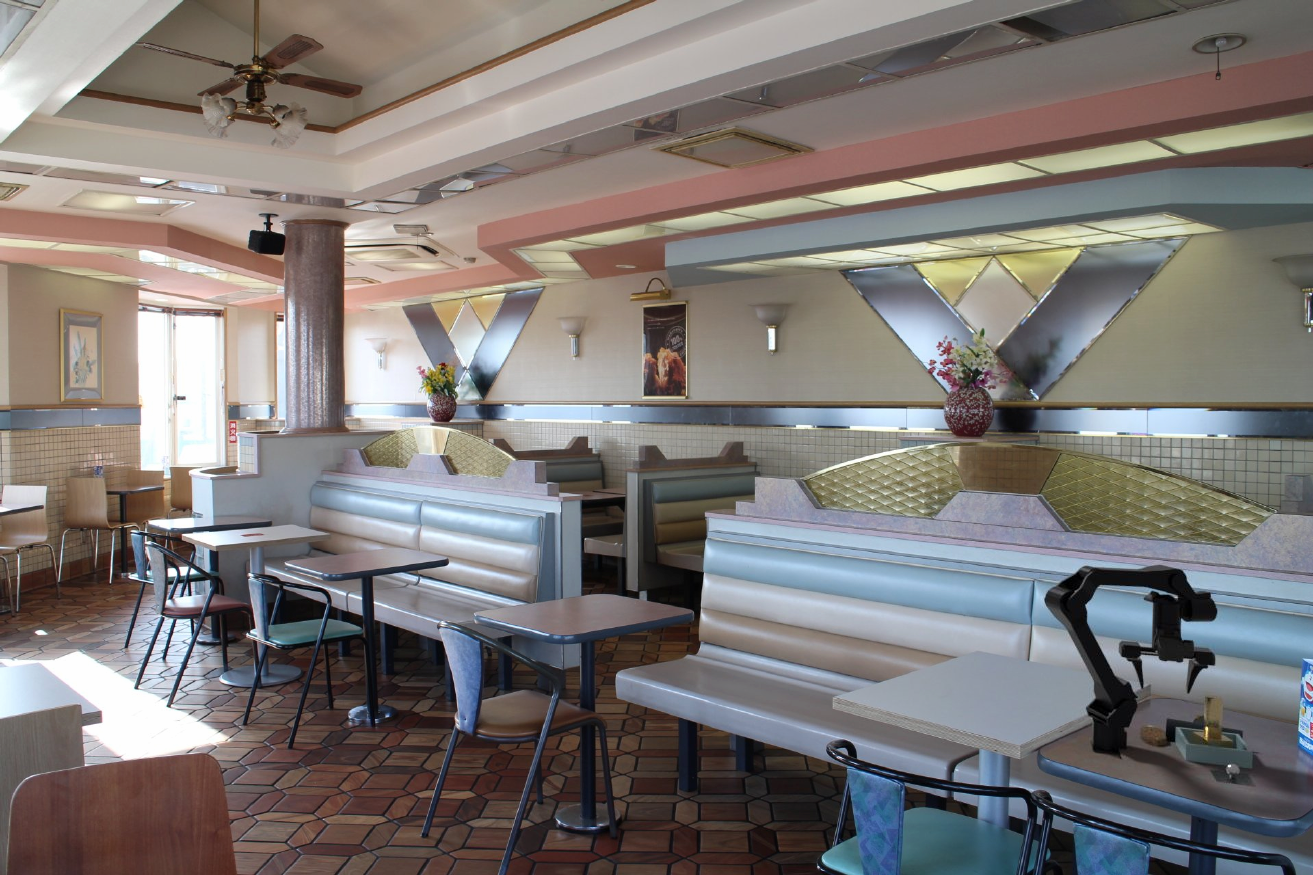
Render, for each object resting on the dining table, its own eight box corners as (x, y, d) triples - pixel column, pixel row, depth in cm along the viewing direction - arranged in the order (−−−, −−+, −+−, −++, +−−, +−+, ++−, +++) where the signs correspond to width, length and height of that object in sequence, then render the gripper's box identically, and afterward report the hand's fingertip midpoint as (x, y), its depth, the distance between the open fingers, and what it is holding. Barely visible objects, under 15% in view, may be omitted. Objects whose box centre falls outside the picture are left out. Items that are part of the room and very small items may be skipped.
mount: (1216, 786, 191) (1217, 767, 191) (1209, 774, 198) (1209, 756, 198) (1256, 791, 189) (1257, 772, 189) (1247, 779, 196) (1248, 760, 196)
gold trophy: (1206, 760, 204) (1208, 700, 204) (1192, 751, 210) (1193, 693, 210) (1232, 761, 204) (1234, 701, 204) (1217, 752, 210) (1219, 694, 210)
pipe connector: (1170, 707, 228) (1243, 719, 220) (1170, 729, 228) (1243, 741, 220) (1165, 720, 219) (1242, 733, 210) (1165, 743, 219) (1241, 756, 211)
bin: (1185, 764, 203) (1186, 743, 203) (1175, 746, 215) (1175, 726, 215) (1252, 773, 199) (1252, 751, 199) (1237, 754, 211) (1238, 733, 211)
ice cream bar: (1134, 726, 227) (1138, 745, 214) (1145, 711, 226) (1149, 730, 213) (1156, 740, 226) (1161, 760, 212) (1167, 725, 225) (1172, 745, 211)
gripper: (1125, 625, 209) (1123, 695, 209) (1222, 633, 203) (1219, 705, 203) (1119, 615, 219) (1117, 682, 220) (1210, 622, 213) (1208, 691, 213)
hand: (1164, 690), depth 214 cm, fingers open, 9 cm apart
